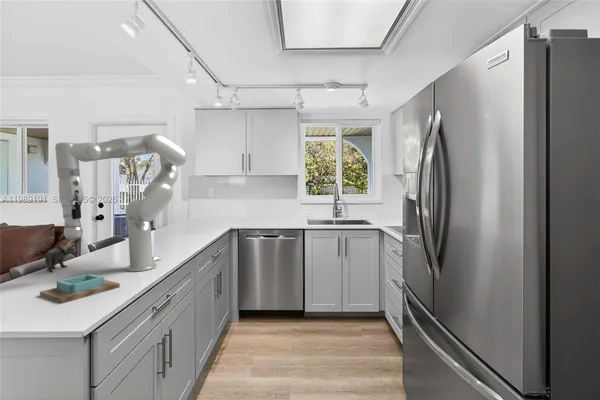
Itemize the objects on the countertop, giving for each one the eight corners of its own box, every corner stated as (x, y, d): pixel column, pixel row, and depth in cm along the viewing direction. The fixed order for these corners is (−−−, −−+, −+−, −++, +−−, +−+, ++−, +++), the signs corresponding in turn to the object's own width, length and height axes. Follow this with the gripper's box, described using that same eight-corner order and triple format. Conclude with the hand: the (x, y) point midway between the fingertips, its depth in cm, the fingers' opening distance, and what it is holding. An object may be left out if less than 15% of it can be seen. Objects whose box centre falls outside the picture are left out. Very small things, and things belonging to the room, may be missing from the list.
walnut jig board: (96, 281, 143) (96, 270, 143) (119, 287, 135) (119, 275, 135) (40, 295, 126) (39, 283, 126) (62, 303, 118) (61, 290, 118)
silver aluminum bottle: (74, 240, 140) (70, 190, 139) (60, 240, 142) (55, 190, 140) (87, 237, 147) (83, 189, 145) (73, 237, 148) (69, 189, 147)
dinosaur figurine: (46, 276, 154) (44, 250, 153) (27, 276, 154) (25, 250, 153) (78, 264, 175) (77, 241, 175) (61, 264, 176) (60, 241, 175)
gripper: (89, 173, 141) (93, 218, 142) (68, 174, 150) (71, 216, 151) (69, 173, 135) (73, 220, 136) (48, 174, 144) (51, 218, 145)
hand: (72, 217), depth 144 cm, fingers closed on silver aluminum bottle, 6 cm apart
